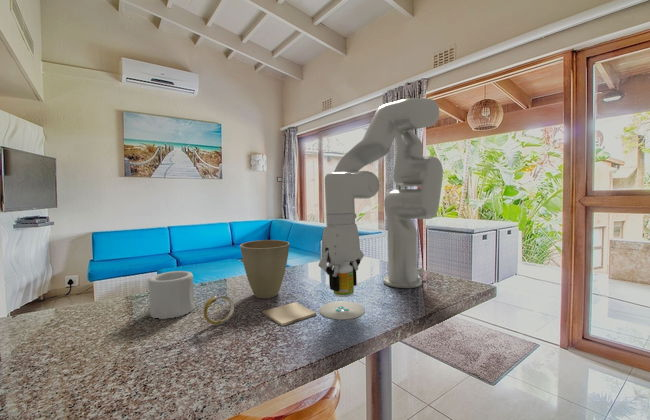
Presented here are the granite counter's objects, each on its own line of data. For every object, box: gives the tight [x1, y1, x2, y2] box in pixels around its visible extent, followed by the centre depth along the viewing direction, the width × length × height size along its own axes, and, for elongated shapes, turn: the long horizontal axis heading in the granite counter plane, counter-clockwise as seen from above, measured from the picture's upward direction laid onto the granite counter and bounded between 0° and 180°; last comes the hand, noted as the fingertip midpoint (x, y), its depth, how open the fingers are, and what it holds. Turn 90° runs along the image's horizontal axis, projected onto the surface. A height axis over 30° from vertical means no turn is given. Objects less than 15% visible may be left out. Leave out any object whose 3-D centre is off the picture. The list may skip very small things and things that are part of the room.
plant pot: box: [239, 239, 290, 299], centre depth 94 cm, size 15×15×16 cm
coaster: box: [318, 300, 366, 321], centre depth 81 cm, size 12×12×1 cm
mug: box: [147, 270, 195, 320], centre depth 83 cm, size 14×11×10 cm
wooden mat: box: [262, 301, 317, 327], centre depth 79 cm, size 10×10×1 cm
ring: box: [202, 290, 235, 326], centre depth 73 cm, size 7×3×8 cm, turn 115°
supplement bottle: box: [332, 262, 355, 298], centre depth 81 cm, size 5×5×10 cm
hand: (343, 286), depth 81 cm, fingers closed on supplement bottle, 5 cm apart
